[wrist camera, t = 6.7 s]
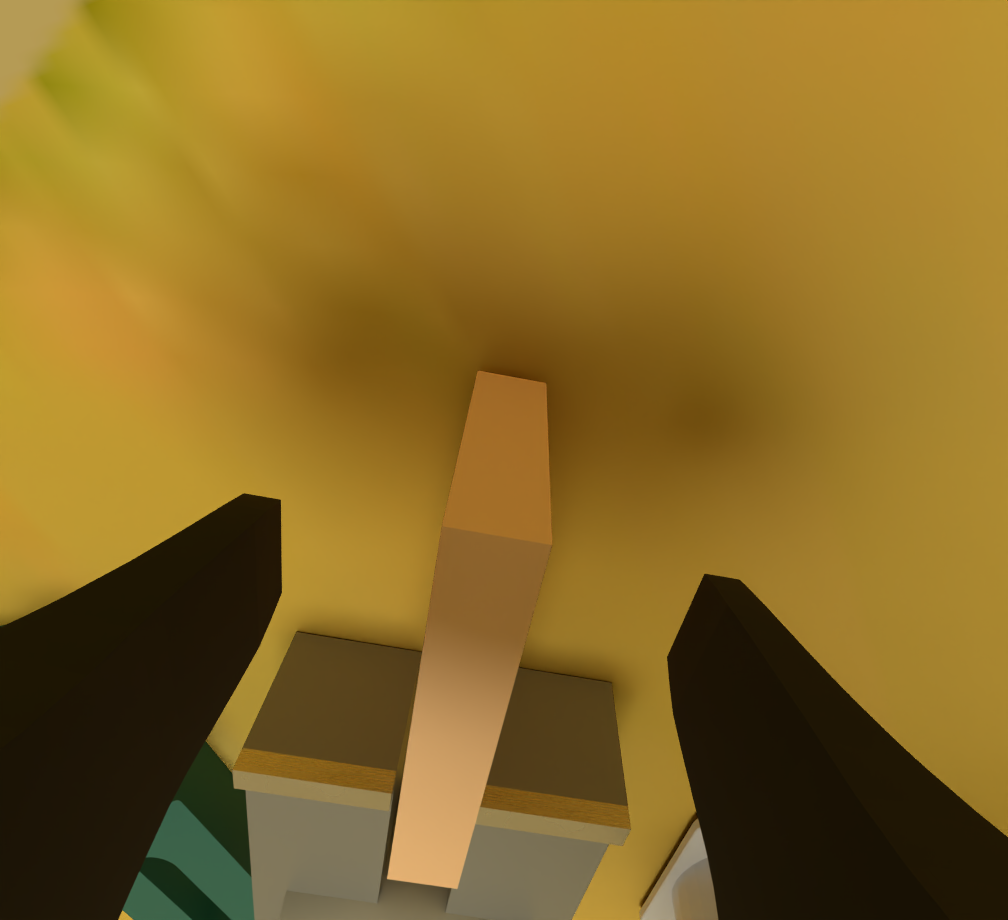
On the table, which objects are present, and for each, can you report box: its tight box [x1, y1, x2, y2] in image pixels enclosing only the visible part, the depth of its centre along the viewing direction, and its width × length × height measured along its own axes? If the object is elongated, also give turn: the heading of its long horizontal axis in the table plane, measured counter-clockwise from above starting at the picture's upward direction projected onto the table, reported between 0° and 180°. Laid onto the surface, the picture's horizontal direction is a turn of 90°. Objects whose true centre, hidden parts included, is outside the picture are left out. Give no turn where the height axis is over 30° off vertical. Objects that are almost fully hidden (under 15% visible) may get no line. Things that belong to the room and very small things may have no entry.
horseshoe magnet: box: [232, 632, 631, 920], centre depth 20 cm, size 13×10×6 cm
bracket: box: [0, 625, 255, 920], centre depth 20 cm, size 18×7×8 cm, turn 16°
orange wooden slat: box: [387, 371, 552, 889], centre depth 14 cm, size 10×2×6 cm, turn 170°
